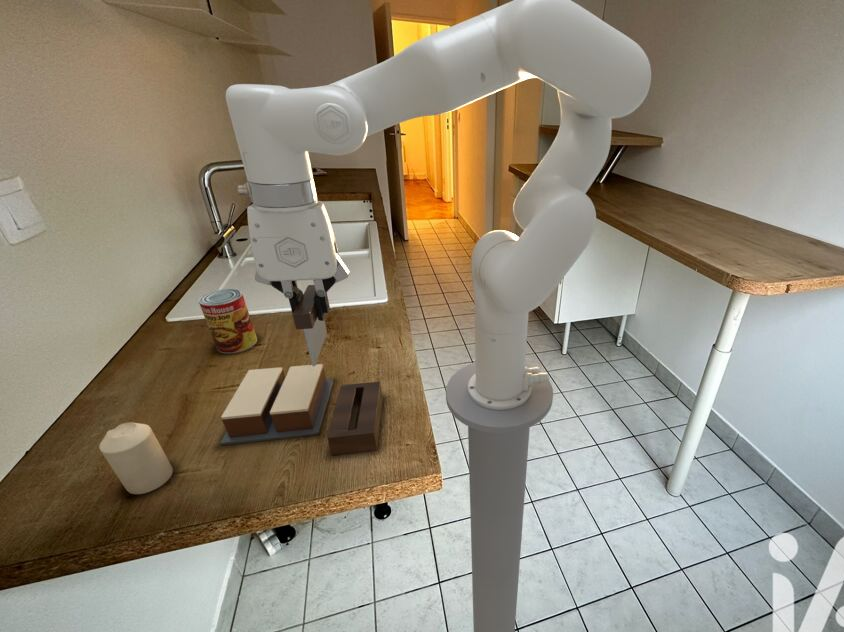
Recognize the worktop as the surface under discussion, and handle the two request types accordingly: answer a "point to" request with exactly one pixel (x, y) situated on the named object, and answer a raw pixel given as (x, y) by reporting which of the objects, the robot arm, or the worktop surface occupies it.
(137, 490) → the candle
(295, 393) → the cake
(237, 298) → the canned food
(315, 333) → the cake cutter
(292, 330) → the worktop surface
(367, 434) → the knife block
